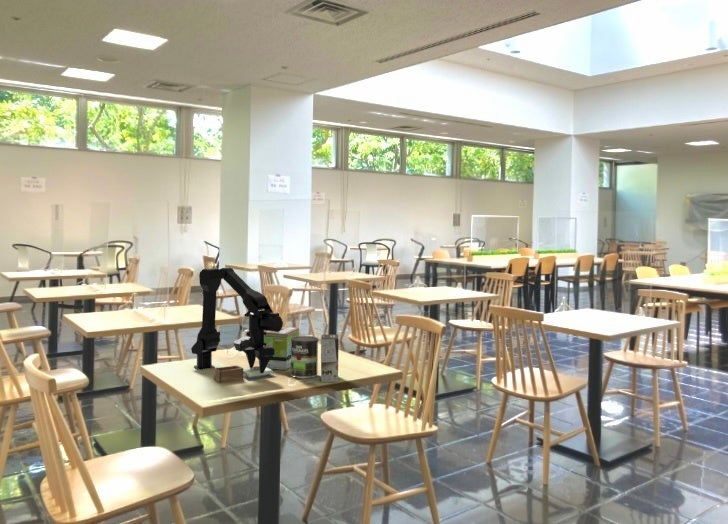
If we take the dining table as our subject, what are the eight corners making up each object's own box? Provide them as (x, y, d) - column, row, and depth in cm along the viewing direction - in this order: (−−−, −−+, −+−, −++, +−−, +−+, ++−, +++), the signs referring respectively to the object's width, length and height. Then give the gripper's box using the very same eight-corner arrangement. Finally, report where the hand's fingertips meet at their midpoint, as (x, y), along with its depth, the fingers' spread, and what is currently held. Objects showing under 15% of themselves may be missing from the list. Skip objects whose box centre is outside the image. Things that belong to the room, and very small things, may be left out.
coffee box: (338, 382, 217) (338, 338, 216) (320, 382, 216) (321, 338, 215) (337, 375, 226) (337, 334, 225) (320, 376, 225) (321, 334, 224)
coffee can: (310, 379, 220) (311, 342, 219) (286, 376, 223) (286, 339, 222) (322, 373, 229) (322, 337, 228) (298, 370, 233) (298, 335, 232)
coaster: (236, 376, 223) (236, 374, 223) (263, 372, 229) (263, 370, 229) (249, 383, 214) (249, 380, 214) (276, 378, 220) (276, 376, 220)
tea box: (287, 370, 234) (287, 333, 233) (263, 368, 236) (263, 331, 235) (299, 361, 248) (299, 326, 247) (276, 360, 250) (276, 325, 249)
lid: (240, 375, 222) (240, 366, 222) (263, 371, 227) (263, 363, 227) (248, 379, 216) (248, 370, 216) (272, 375, 221) (272, 367, 221)
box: (213, 381, 215) (213, 368, 215) (237, 378, 220) (237, 365, 220) (219, 385, 210) (219, 371, 210) (243, 381, 216) (243, 368, 215)
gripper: (226, 327, 223) (226, 368, 224) (246, 335, 208) (246, 379, 209) (253, 324, 230) (253, 364, 231) (275, 332, 214) (275, 374, 215)
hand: (256, 370), depth 221 cm, fingers open, 9 cm apart
